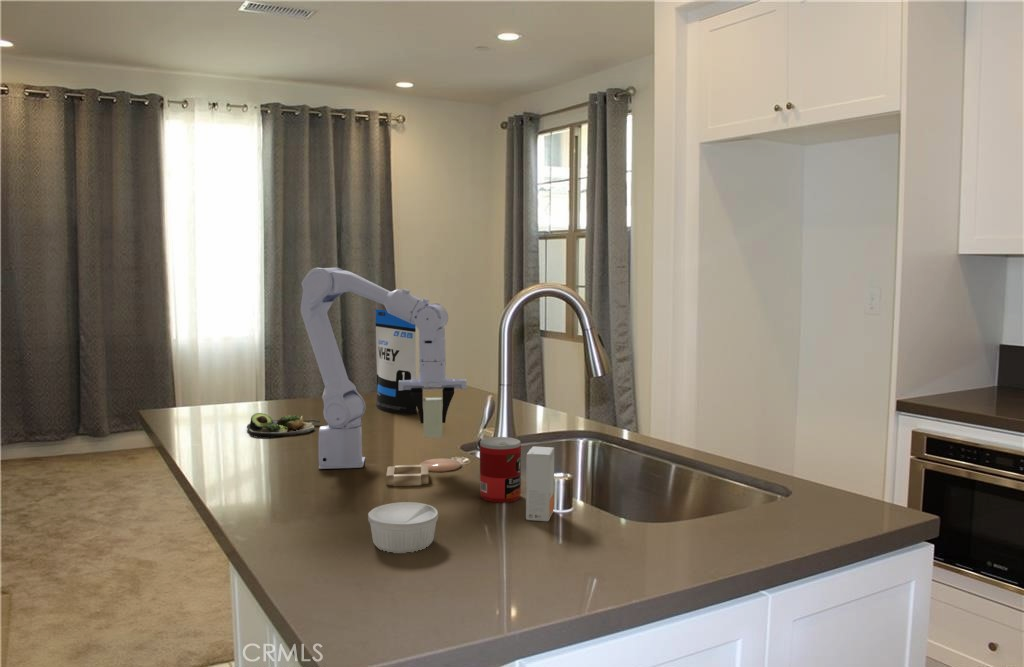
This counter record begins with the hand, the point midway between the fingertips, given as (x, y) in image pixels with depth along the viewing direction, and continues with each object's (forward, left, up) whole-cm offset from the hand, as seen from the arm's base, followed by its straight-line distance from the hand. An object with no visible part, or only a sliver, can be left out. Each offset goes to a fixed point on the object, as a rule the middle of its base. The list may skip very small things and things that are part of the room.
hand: (432, 422), depth 172 cm
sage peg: (0, 0, -3) cm, 3 cm away
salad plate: (-41, +45, -11) cm, 61 cm away
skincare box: (+19, -34, -11) cm, 40 cm away
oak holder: (-5, -8, -10) cm, 14 cm away
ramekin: (-5, -45, -11) cm, 46 cm away
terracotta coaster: (+2, +2, -10) cm, 11 cm away
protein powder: (-10, +71, -11) cm, 73 cm away
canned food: (+13, -22, -11) cm, 27 cm away
